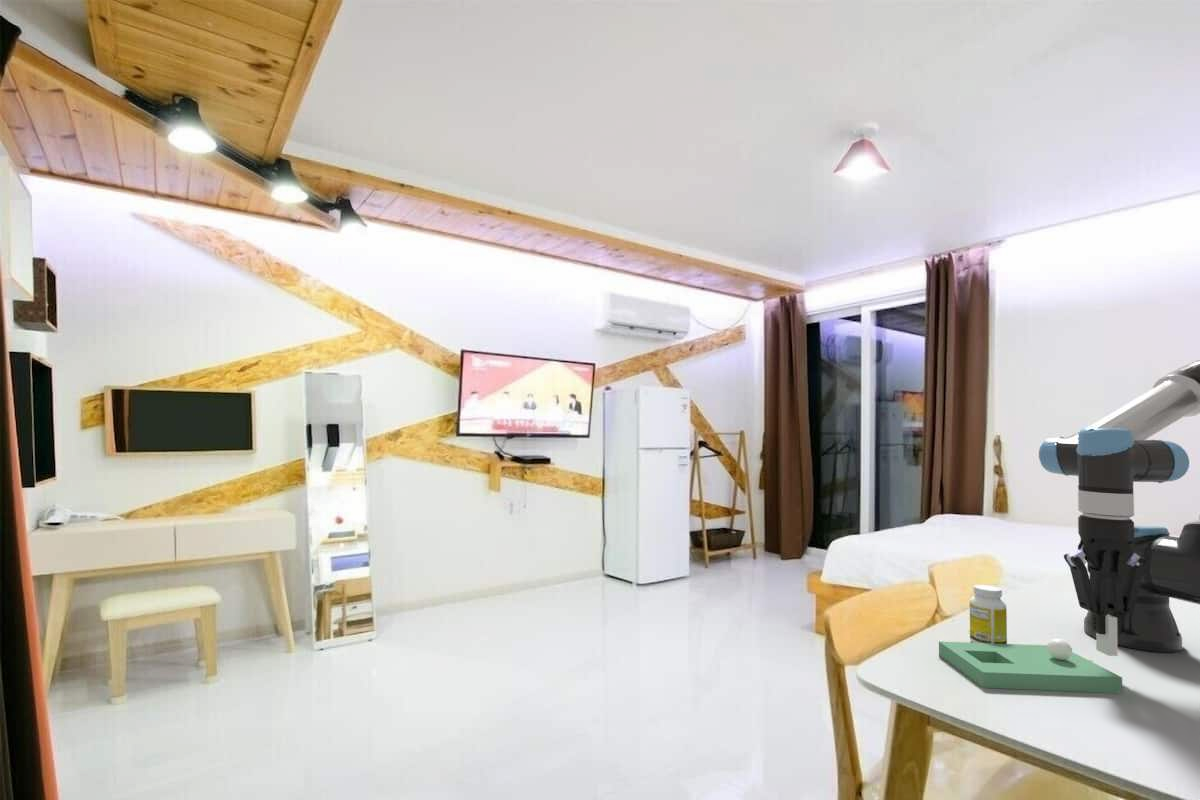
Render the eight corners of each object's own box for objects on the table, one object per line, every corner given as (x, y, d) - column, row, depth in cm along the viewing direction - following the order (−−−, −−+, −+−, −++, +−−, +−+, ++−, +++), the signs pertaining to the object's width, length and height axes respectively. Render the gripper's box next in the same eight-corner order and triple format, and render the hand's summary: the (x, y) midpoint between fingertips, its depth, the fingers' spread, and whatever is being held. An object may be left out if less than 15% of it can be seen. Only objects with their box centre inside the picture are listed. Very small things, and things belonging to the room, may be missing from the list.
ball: (1062, 656, 107) (1062, 636, 107) (1077, 663, 103) (1077, 643, 103) (1042, 655, 107) (1042, 635, 107) (1056, 663, 103) (1056, 642, 104)
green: (1060, 659, 112) (1060, 645, 112) (1122, 693, 98) (1122, 677, 98) (938, 655, 113) (938, 641, 113) (982, 687, 99) (982, 672, 99)
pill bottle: (1001, 641, 121) (1001, 585, 122) (1011, 651, 115) (1011, 593, 116) (966, 636, 123) (966, 582, 124) (974, 647, 117) (973, 589, 118)
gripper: (1126, 513, 109) (1128, 646, 108) (1051, 511, 110) (1052, 643, 109) (1163, 520, 102) (1165, 662, 101) (1083, 518, 102) (1084, 659, 101)
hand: (1106, 652), depth 105 cm, fingers closed
